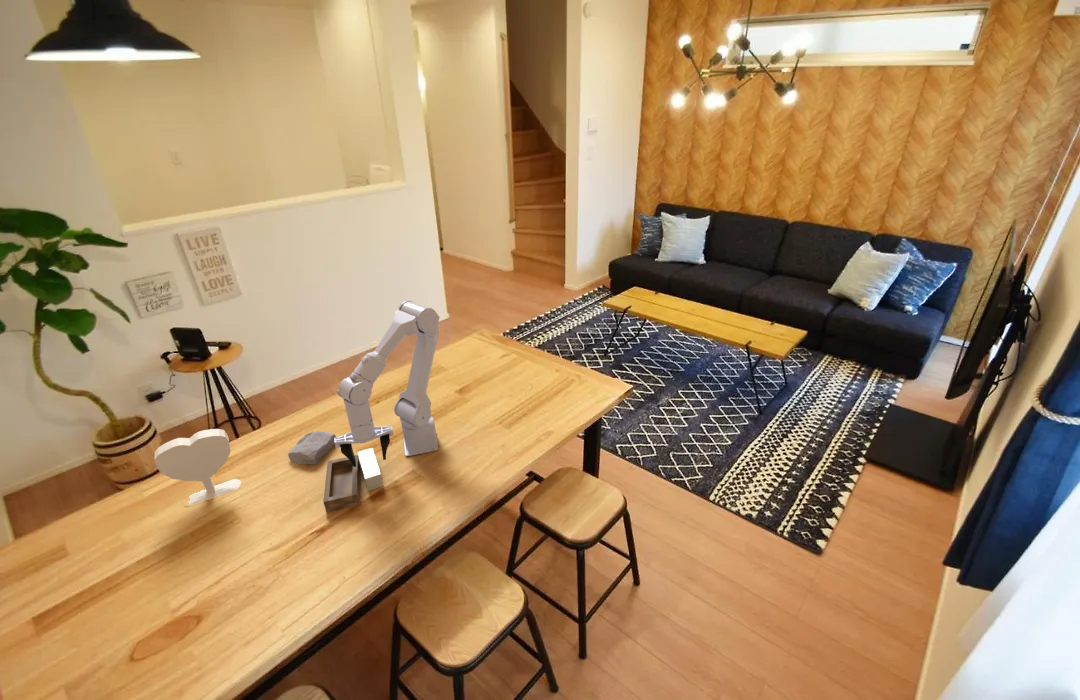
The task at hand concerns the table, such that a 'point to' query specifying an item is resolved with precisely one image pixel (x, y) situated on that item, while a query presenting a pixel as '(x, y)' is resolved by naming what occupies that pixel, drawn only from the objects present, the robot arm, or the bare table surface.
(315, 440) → the stone block
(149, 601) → the table surface
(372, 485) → the rectangular block
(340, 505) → the shallow brown tray
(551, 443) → the table surface
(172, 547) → the table surface
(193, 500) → the heart sculpture
